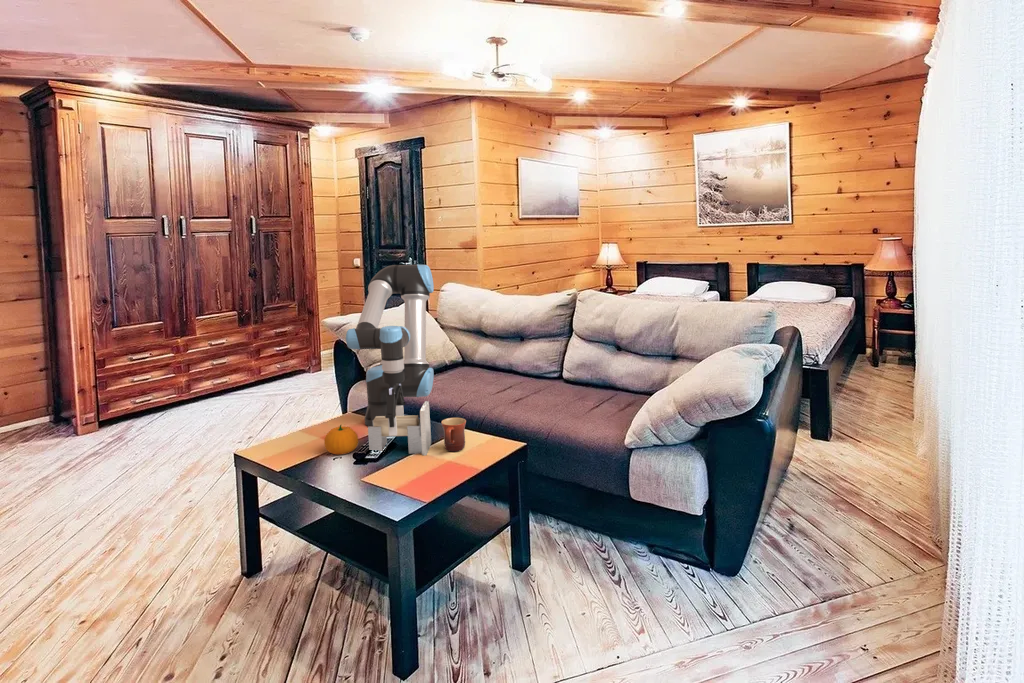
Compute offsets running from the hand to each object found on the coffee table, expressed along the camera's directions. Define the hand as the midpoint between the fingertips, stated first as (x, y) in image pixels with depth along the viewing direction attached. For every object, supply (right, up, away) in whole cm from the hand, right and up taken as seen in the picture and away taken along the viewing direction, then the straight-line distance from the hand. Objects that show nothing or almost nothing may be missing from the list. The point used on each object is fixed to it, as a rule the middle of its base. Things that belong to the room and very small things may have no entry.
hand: (396, 429), depth 218 cm
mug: (+20, -8, -1) cm, 22 cm away
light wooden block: (0, -2, 0) cm, 2 cm away
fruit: (-20, -8, +2) cm, 22 cm away
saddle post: (-7, -8, +1) cm, 10 cm away
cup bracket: (+7, -7, +1) cm, 10 cm away
